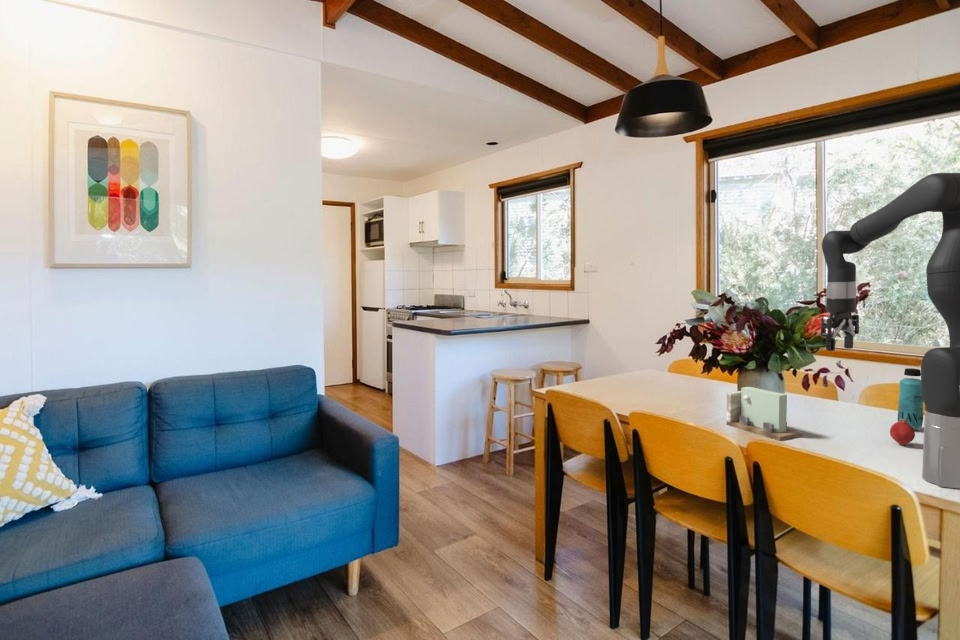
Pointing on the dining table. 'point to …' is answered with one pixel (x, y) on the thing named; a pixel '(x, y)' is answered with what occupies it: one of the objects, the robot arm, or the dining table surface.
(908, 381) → the beverage bottle
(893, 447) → the dining table surface
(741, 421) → the cabinet frame
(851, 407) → the dining table surface
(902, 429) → the onion
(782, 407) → the door
